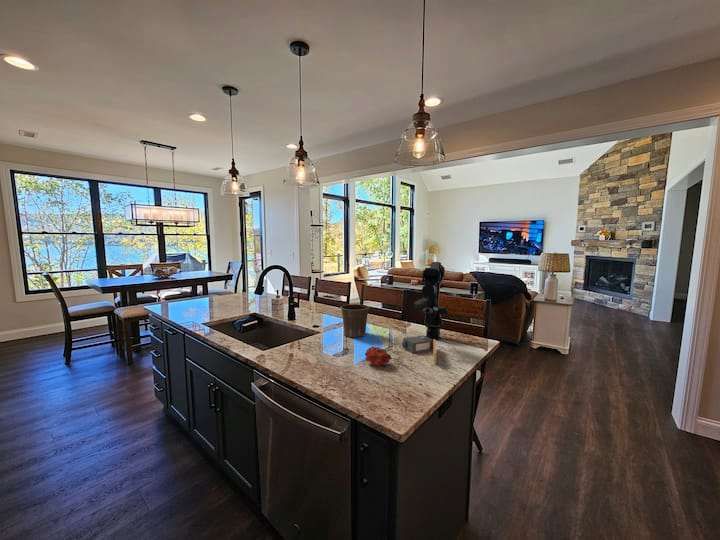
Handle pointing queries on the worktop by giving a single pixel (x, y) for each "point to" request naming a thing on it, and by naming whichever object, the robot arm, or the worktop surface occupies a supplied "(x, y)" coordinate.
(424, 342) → the action camera body
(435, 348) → the side door
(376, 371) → the worktop surface
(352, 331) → the plant pot
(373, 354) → the dragon fruit
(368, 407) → the worktop surface
